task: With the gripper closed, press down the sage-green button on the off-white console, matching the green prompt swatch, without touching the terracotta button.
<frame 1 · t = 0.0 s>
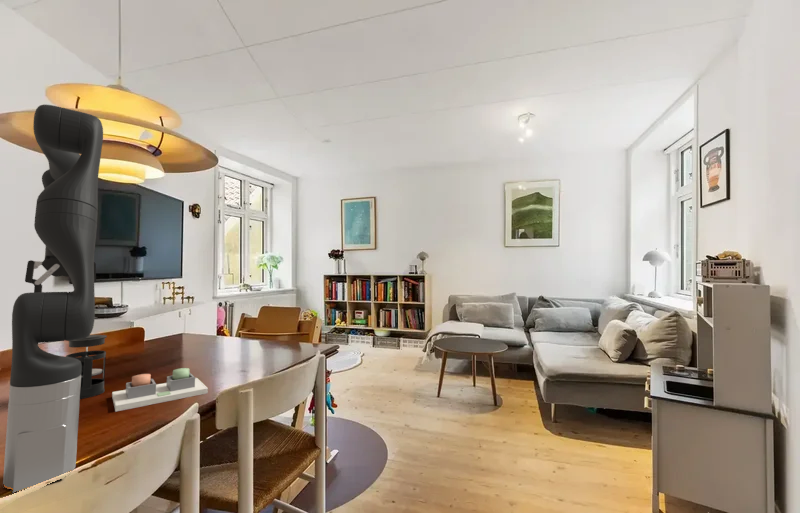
hand: (61, 298, 98), 29 cm above the table, fingers open, 8 cm apart
sage button: (181, 374, 108), point 5 cm above the table, slide at 0.0 cm
terracotta button: (141, 381, 101), point 5 cm above the table, slide at 0.0 cm
french press: (84, 395, 104), on the table
console: (160, 395, 104), on the table
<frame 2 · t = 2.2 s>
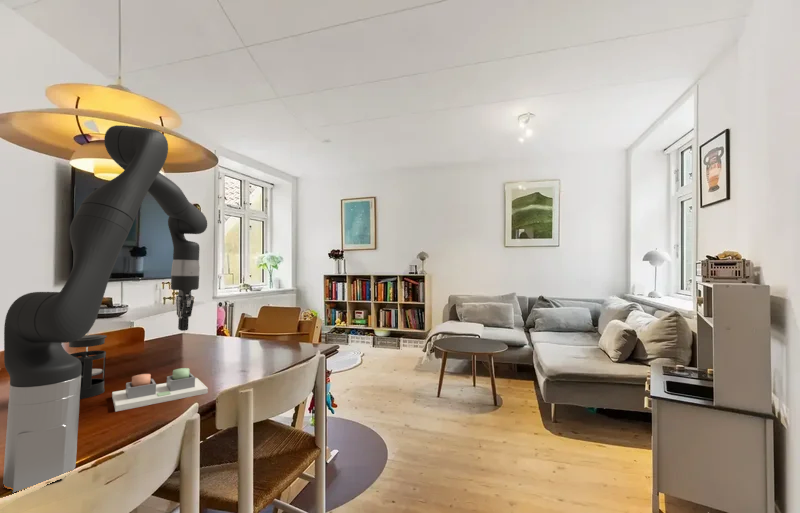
hand: (183, 329, 109), 19 cm above the table, fingers closed
nothing on the table moved.
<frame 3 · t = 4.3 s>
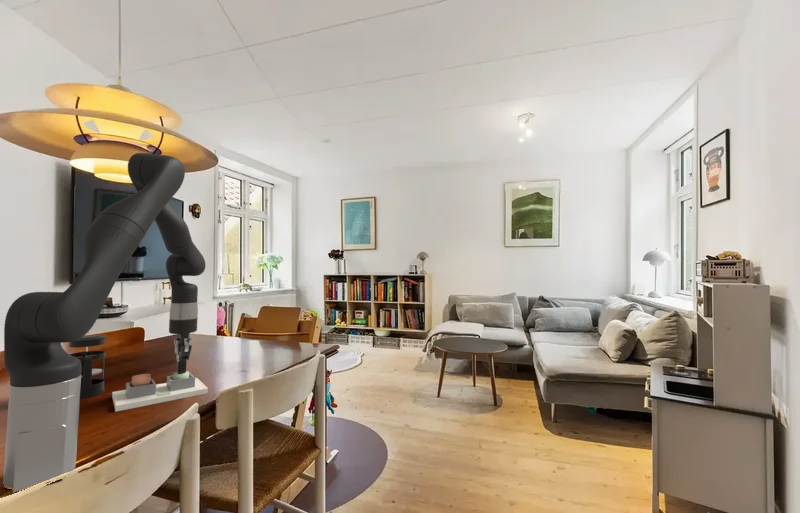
hand: (181, 372, 108), 6 cm above the table, fingers closed
sage button: (180, 377, 108), point 4 cm above the table, slide at 1.0 cm, touching gripper
everything else where it was.
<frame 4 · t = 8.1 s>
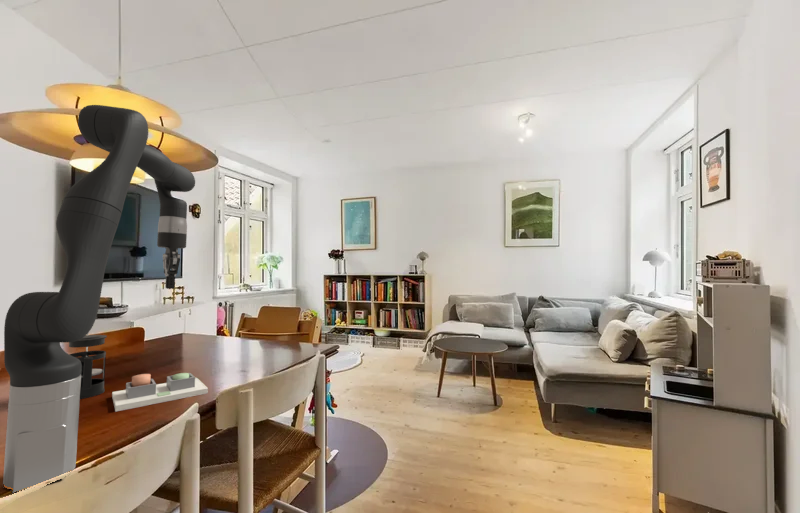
hand: (169, 288, 107), 32 cm above the table, fingers closed
sage button: (180, 379, 108), point 4 cm above the table, slide at 1.5 cm
everything else where it was.
at the end: sage button slide at 1.5 cm; terracotta button slide at 0.0 cm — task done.
